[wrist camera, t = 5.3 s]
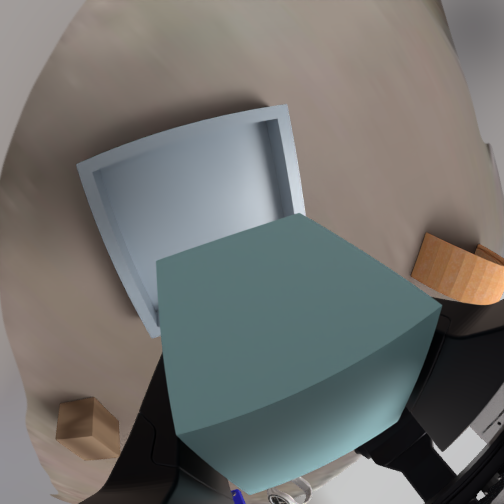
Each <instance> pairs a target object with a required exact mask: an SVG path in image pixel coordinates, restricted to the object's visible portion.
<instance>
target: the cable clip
mask: <svg viewBox="0 0 504 504" xmlns="http://www.w3.org/2000/svg"><path fill="white" fill-rule="evenodd" d="M231 493H232V497H233V501H234V503H235V504H245V501H244V499H243V496H242V494H241V491H239V490H238V489H236V490H233V491H231ZM235 493H236V496H233V495H234V494H235Z"/></svg>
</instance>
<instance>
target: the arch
mask: <svg viewBox="0 0 504 504" xmlns="http://www.w3.org/2000/svg"><path fill="white" fill-rule="evenodd" d="M411 277H413V278H414V279H416V280H418V281H419V282H421V283H423V284H425V285H426V286H428V287H430V288H432V289H434V290H436V291H438V292H440V293H442V294H444V295H446V296H448V297H451V298H453V299H455V300H458V301H460V302H464V303H470V304H477V305H489V304H493V303H496V302H498V301H500V298H501V296H502V294H503V291H504V258H502V257H501V256H499V255H498V254H496V253H494V252H493V251H491V250H489V249H488V248H486V247H484V246H482V245H480V244H478V245H477V248H476V251H475V254H472V253H470V252H468V251H465V250H463V249H461V248H459V247H457V246H454V245H452V244H450V243H448V242H446V241H444V240H442V239H439V238H437V237H435V236H433V235H431V234H429V233H426V234H425V237H424V240H423V243H422V246H421V249H420V252H419V255H418V258H417V261H416V263H415V266H414V269H413V271H412V274H411Z"/></svg>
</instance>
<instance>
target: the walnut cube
mask: <svg viewBox="0 0 504 504" xmlns="http://www.w3.org/2000/svg"><path fill="white" fill-rule="evenodd" d="M56 440H57V441H58V442H59V443H61V444H62V445H63V446H65V447H66V448H67V449H69V450H70V451H72V452H73V453H74V454H76V455H77V456H79V457H80V458H82V459H83V460H99V459H109V458H117V457H119V456H120V439H119V421H118V420H117V419H116V418H115V417H114V416H113V415H112V414H111V413H110V412H109V411H108V410H107V409H106V408H105V407H104V406H103V405H102V404H101V403H100V402H99V401H98V400H97V399H96V398H95V397H92V398H87V399H82V400H77V401H71V402H66V403H60V407H59V414H58V422H57V430H56Z"/></svg>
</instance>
